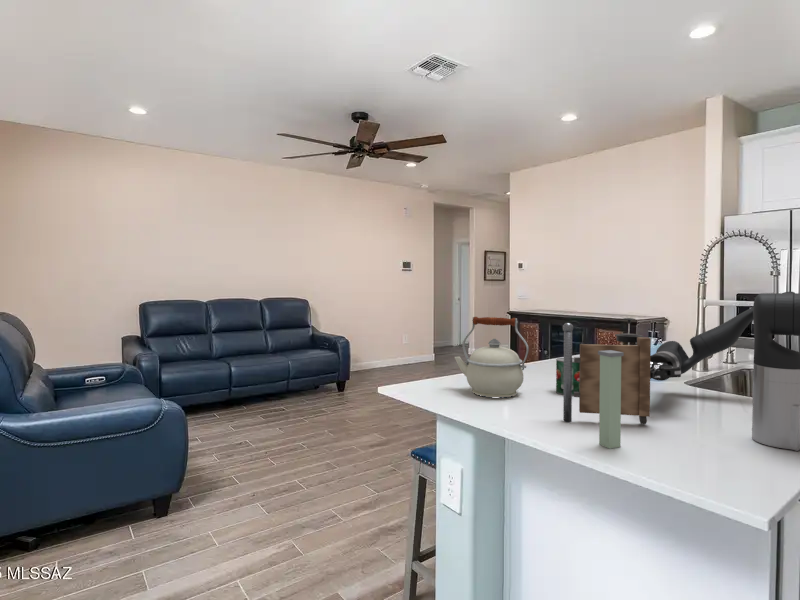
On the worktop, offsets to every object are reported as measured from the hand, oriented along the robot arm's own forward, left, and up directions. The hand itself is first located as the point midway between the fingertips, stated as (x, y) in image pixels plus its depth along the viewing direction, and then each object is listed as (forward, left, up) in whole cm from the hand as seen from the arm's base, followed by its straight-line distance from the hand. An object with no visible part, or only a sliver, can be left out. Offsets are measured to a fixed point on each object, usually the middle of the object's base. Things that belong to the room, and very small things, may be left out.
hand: (646, 374), depth 119 cm
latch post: (-8, +25, -12) cm, 29 cm away
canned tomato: (+30, -5, -12) cm, 32 cm away
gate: (+2, +11, -11) cm, 16 cm away
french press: (+31, -37, -12) cm, 49 cm away
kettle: (+43, +17, -12) cm, 48 cm away
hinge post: (+9, +19, -12) cm, 24 cm away
